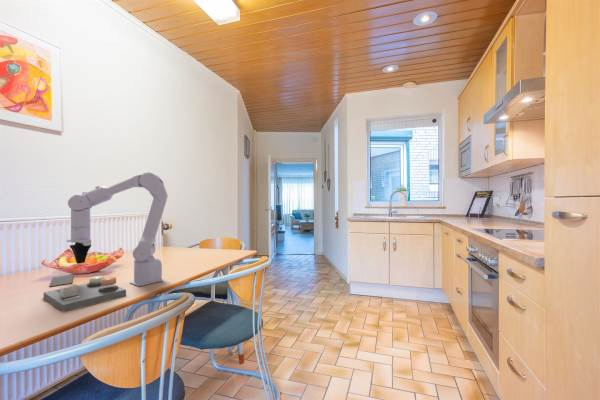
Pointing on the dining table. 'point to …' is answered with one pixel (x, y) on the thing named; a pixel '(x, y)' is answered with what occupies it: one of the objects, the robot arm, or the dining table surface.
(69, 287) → the slider knob
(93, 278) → the sage button
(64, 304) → the control panel
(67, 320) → the dining table surface
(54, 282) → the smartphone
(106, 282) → the terracotta button
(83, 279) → the dining table surface
